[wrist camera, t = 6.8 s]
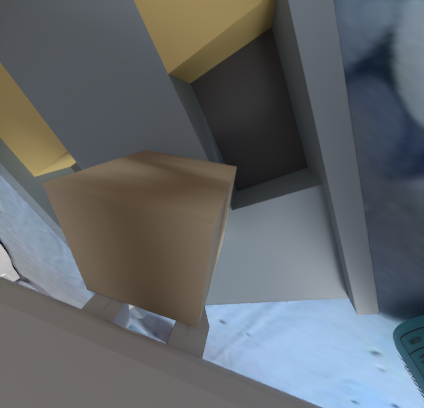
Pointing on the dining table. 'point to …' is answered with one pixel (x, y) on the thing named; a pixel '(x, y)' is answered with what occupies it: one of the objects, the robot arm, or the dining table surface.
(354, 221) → the tray
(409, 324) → the beverage bottle
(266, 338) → the dining table surface
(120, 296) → the cube
